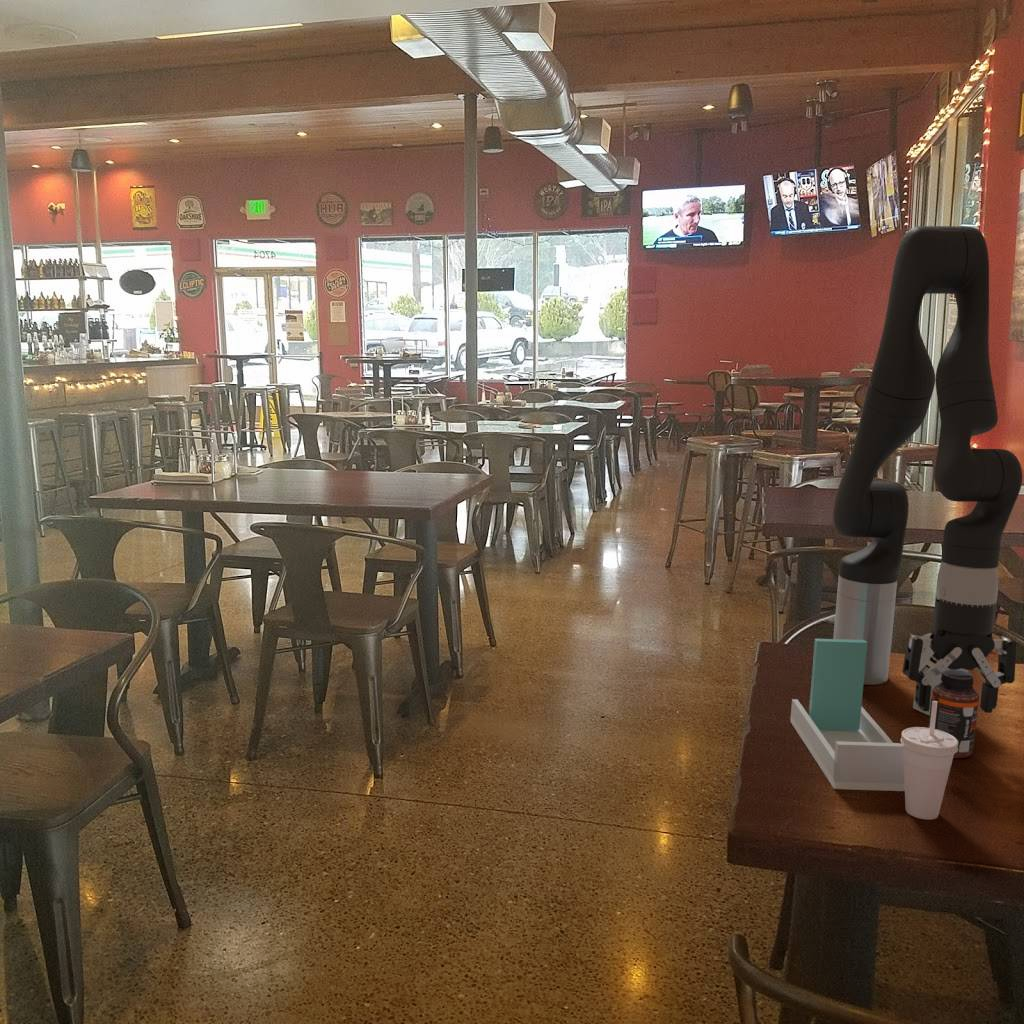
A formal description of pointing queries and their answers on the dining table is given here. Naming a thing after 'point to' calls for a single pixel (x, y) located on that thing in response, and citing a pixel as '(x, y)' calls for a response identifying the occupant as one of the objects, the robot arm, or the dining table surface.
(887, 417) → the robot arm
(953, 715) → the supplement bottle
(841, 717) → the pusher
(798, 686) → the dining table surface
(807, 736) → the lane
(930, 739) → the smoothie
